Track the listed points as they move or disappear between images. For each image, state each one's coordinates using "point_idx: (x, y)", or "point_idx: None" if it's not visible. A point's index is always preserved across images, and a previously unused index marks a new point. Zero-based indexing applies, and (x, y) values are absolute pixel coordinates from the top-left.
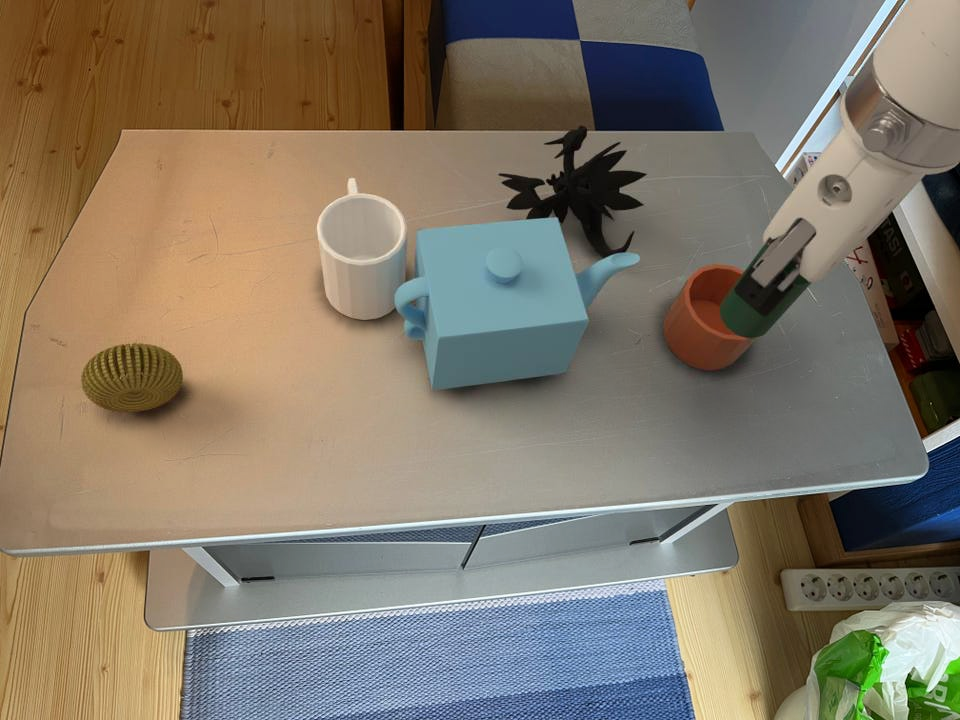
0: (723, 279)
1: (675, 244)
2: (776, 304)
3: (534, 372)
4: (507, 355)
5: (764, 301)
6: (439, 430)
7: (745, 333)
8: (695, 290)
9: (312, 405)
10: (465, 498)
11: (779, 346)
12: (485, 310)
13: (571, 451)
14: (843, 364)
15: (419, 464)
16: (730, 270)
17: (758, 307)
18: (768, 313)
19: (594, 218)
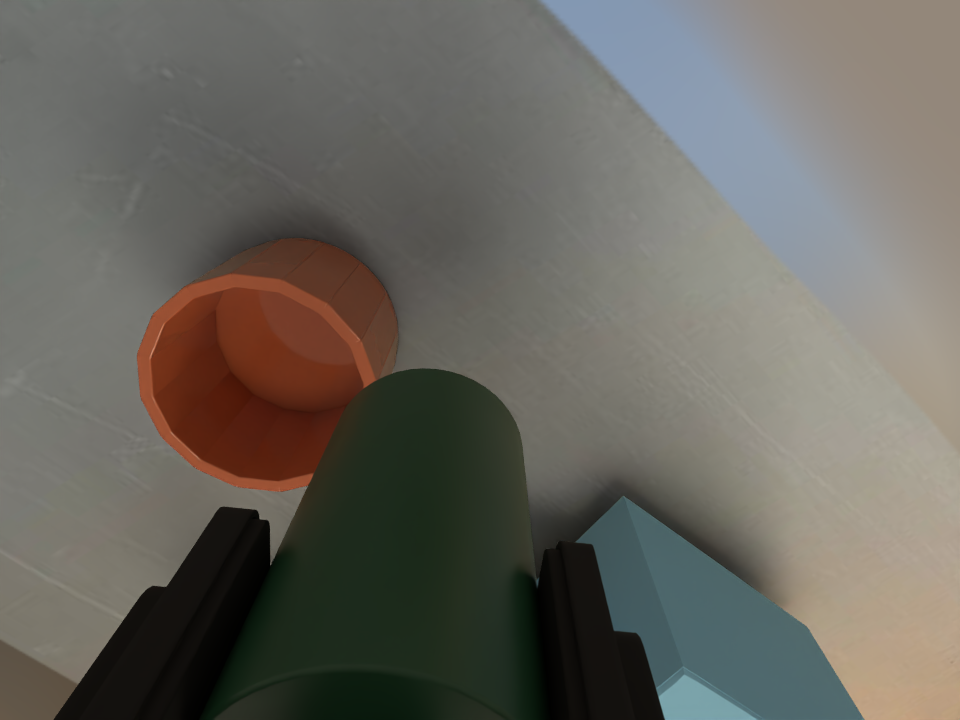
0: (193, 412)
1: (172, 489)
2: (613, 633)
3: (678, 544)
4: (762, 649)
5: (640, 679)
6: (836, 560)
7: (516, 432)
8: (255, 423)
9: (906, 702)
10: (929, 461)
11: (178, 175)
12: None
13: (735, 379)
14: (69, 6)
15: (911, 547)
16: (173, 430)
17: (638, 639)
18: (598, 567)
19: None
